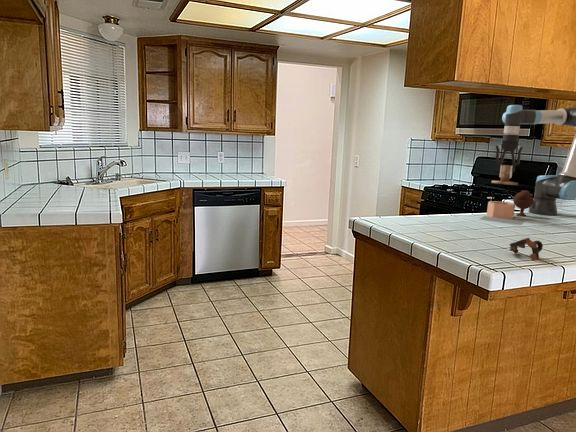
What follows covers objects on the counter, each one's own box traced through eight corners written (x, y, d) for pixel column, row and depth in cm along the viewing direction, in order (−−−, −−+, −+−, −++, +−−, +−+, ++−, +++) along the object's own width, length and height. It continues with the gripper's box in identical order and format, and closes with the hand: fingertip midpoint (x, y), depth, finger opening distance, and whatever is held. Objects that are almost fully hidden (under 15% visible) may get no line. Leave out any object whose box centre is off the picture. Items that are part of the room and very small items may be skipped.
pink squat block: (514, 217, 252) (516, 203, 251) (510, 220, 242) (512, 205, 240) (489, 214, 259) (491, 200, 258) (485, 217, 249) (486, 202, 247)
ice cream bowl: (536, 217, 256) (540, 191, 253) (522, 217, 252) (525, 191, 249) (520, 213, 266) (524, 188, 263) (506, 214, 261) (510, 188, 259)
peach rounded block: (518, 184, 248) (521, 166, 247) (515, 185, 238) (518, 166, 236) (493, 182, 255) (496, 164, 254) (489, 182, 244) (492, 164, 243)
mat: (524, 222, 238) (524, 221, 238) (520, 225, 227) (521, 224, 227) (484, 216, 249) (484, 215, 249) (479, 220, 238) (479, 219, 238)
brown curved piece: (527, 263, 160) (518, 241, 161) (510, 267, 168) (501, 246, 170) (553, 253, 163) (544, 232, 164) (535, 257, 172) (526, 237, 173)
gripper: (492, 133, 244) (487, 176, 248) (528, 134, 234) (522, 179, 238) (494, 133, 250) (489, 175, 254) (529, 135, 240) (523, 178, 245)
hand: (505, 177), depth 246 cm, fingers closed on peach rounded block, 4 cm apart
